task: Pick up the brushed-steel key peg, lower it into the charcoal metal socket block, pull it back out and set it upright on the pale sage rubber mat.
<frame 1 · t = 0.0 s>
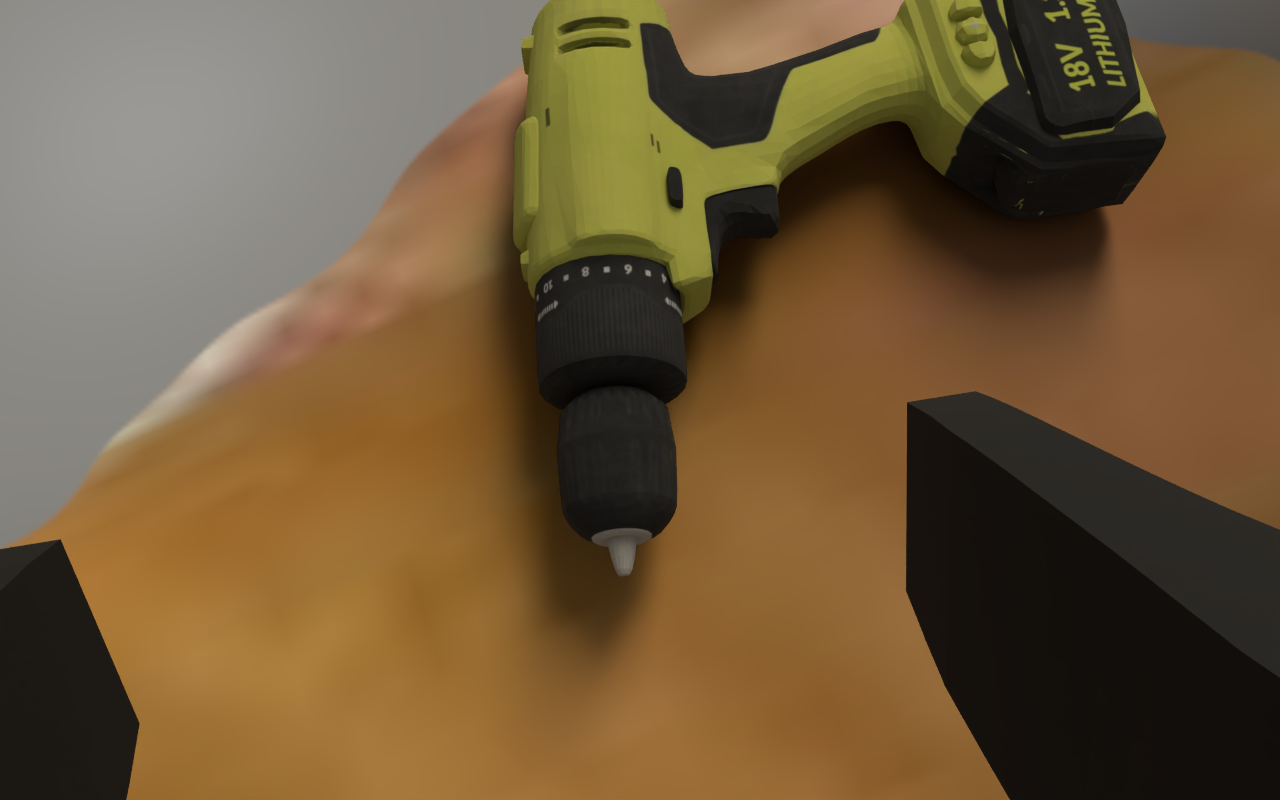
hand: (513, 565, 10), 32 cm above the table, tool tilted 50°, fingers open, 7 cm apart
cordless drill: (822, 288, 47), on the table
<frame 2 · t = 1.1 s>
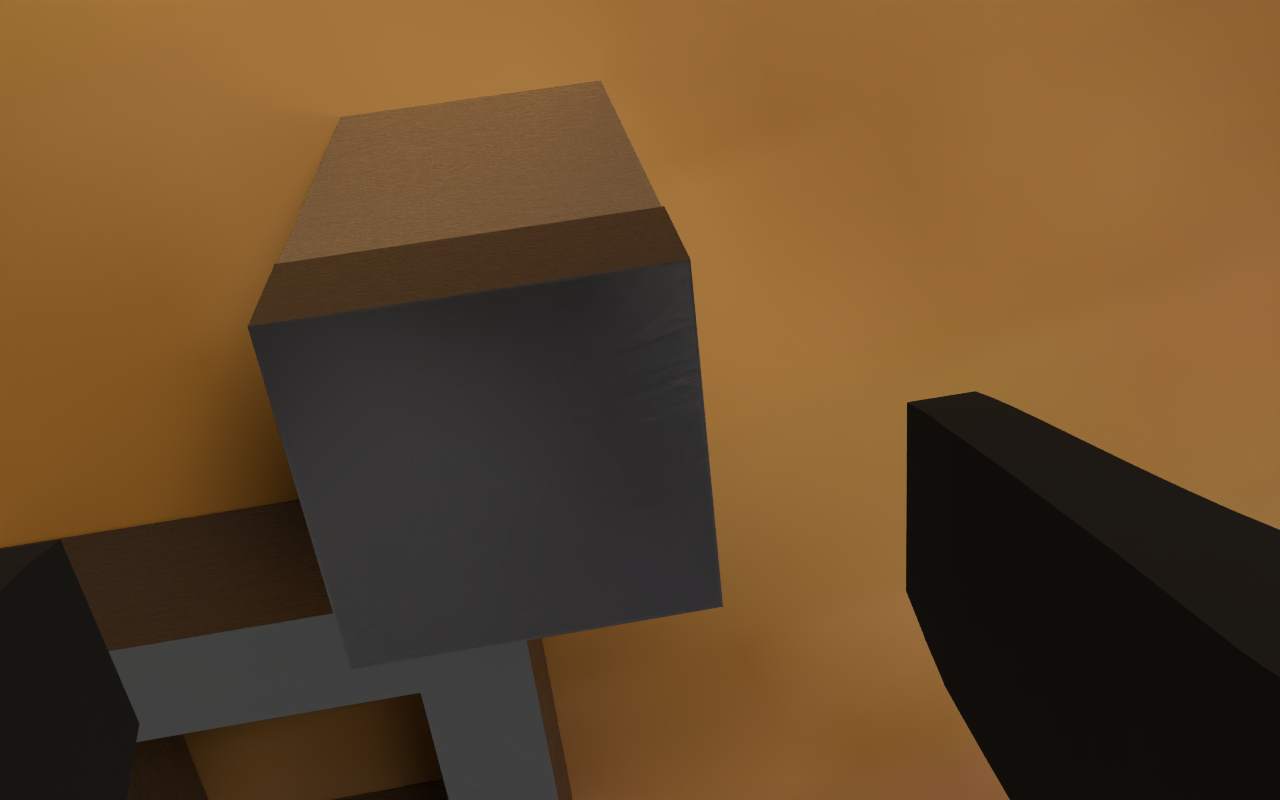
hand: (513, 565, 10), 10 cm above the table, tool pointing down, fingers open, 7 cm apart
key peg: (493, 223, 18), on the table
socket block: (317, 698, 22), on the table
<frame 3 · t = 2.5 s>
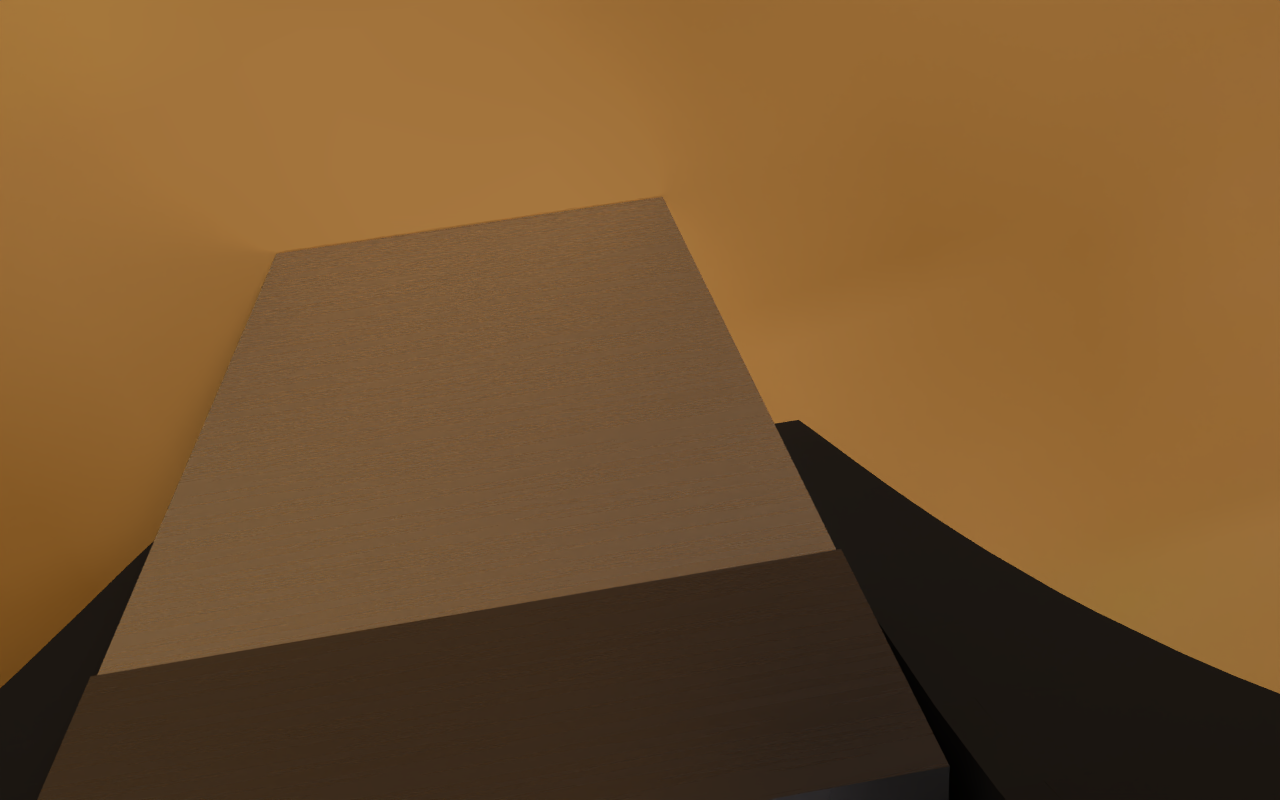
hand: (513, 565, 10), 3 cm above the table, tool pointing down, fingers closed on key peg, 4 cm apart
key peg: (503, 394, 13), on the table, touching gripper
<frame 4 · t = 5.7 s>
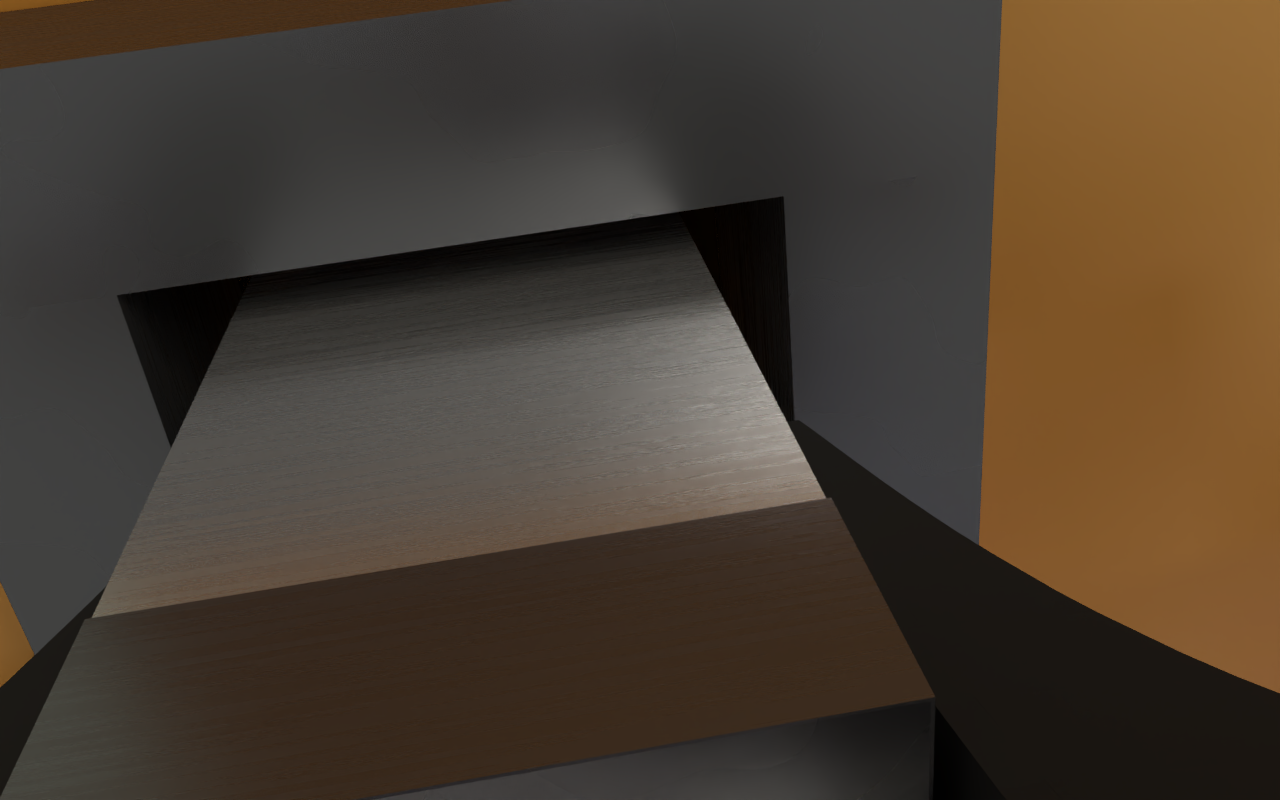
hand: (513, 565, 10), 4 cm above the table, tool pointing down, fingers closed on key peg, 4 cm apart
key peg: (499, 371, 13), point 1 cm above the table, touching gripper
socket block: (500, 357, 14), on the table
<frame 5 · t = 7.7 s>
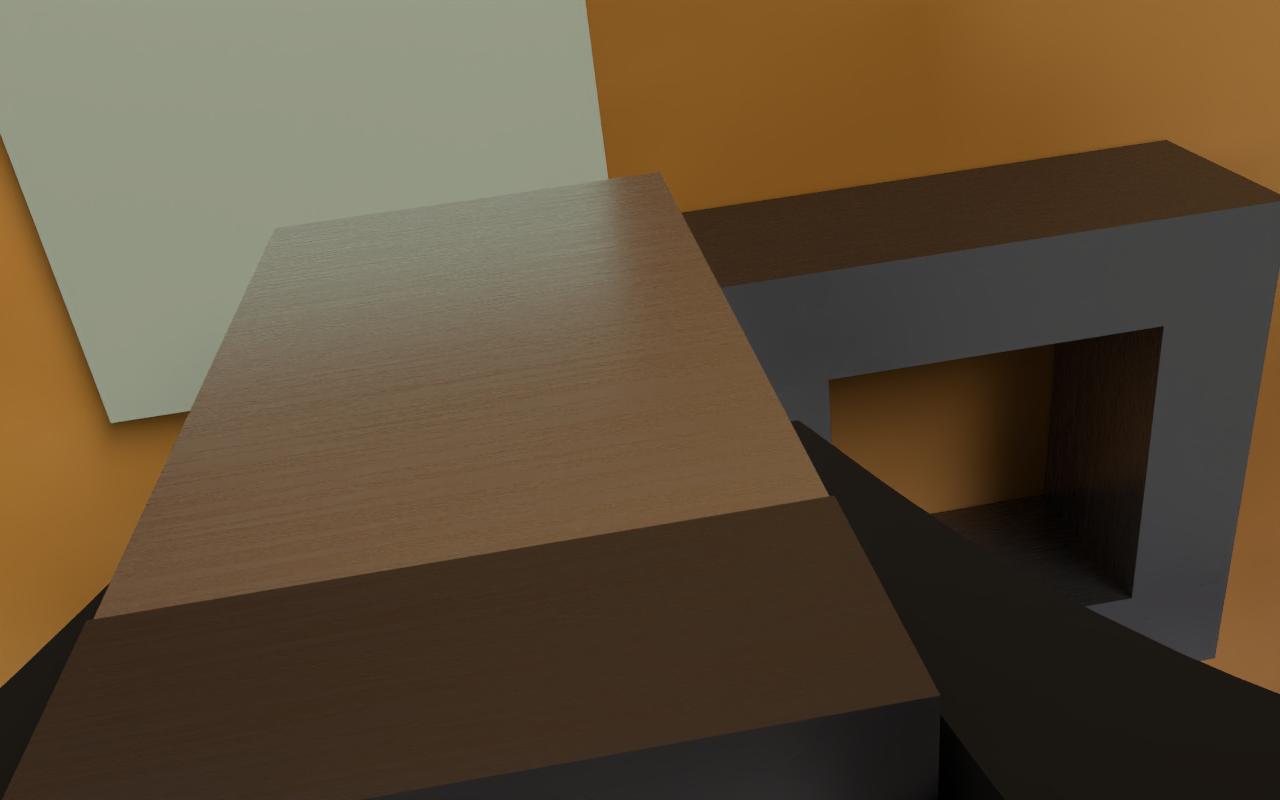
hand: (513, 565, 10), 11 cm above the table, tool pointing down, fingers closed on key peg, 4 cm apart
key peg: (501, 371, 13), point 7 cm above the table, touching gripper
mat: (314, 116, 18), on the table
socket block: (919, 401, 22), on the table
when the fingers open (5 cm above the table, at t = 9.5 s): key peg stays where it is, resting on mat.
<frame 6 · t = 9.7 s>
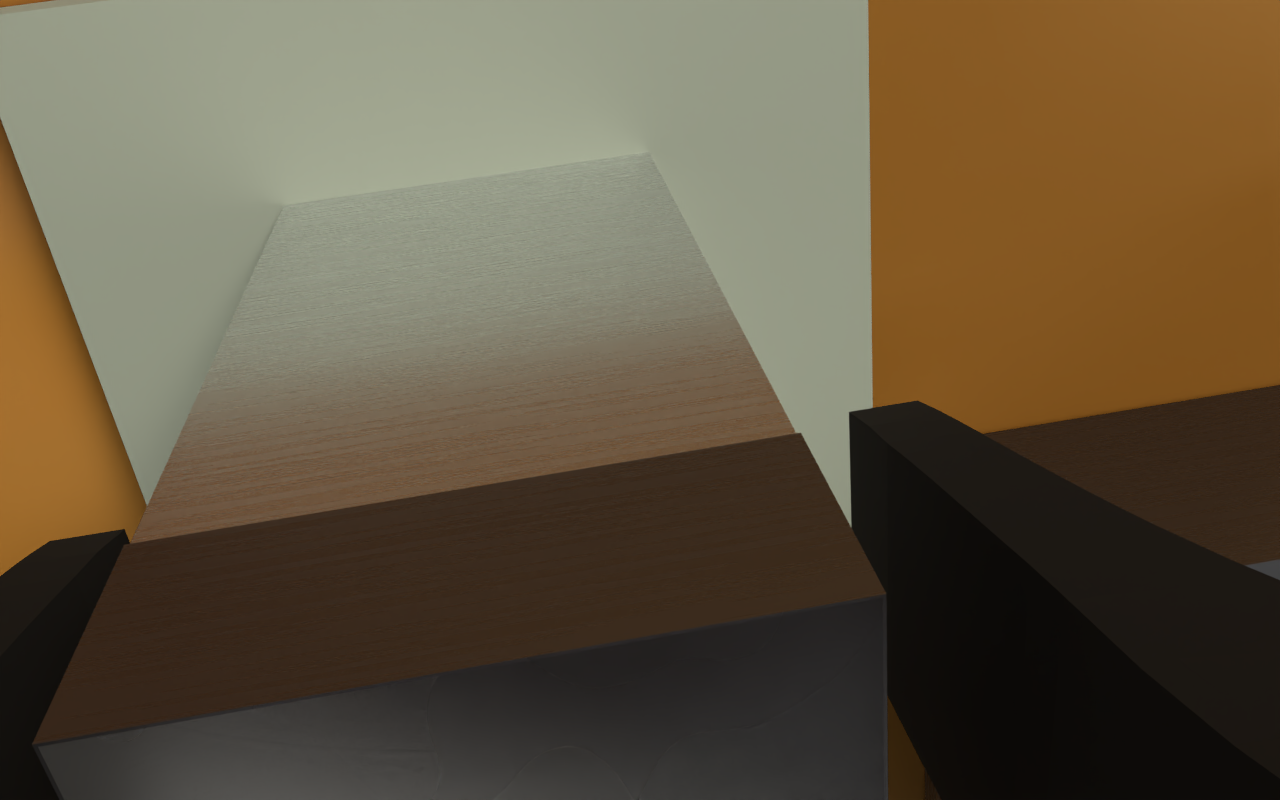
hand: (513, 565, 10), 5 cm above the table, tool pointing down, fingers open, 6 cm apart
key peg: (499, 343, 13), point 1 cm above the table, touching mat
mat: (500, 339, 14), on the table
socket block: (1202, 640, 18), on the table
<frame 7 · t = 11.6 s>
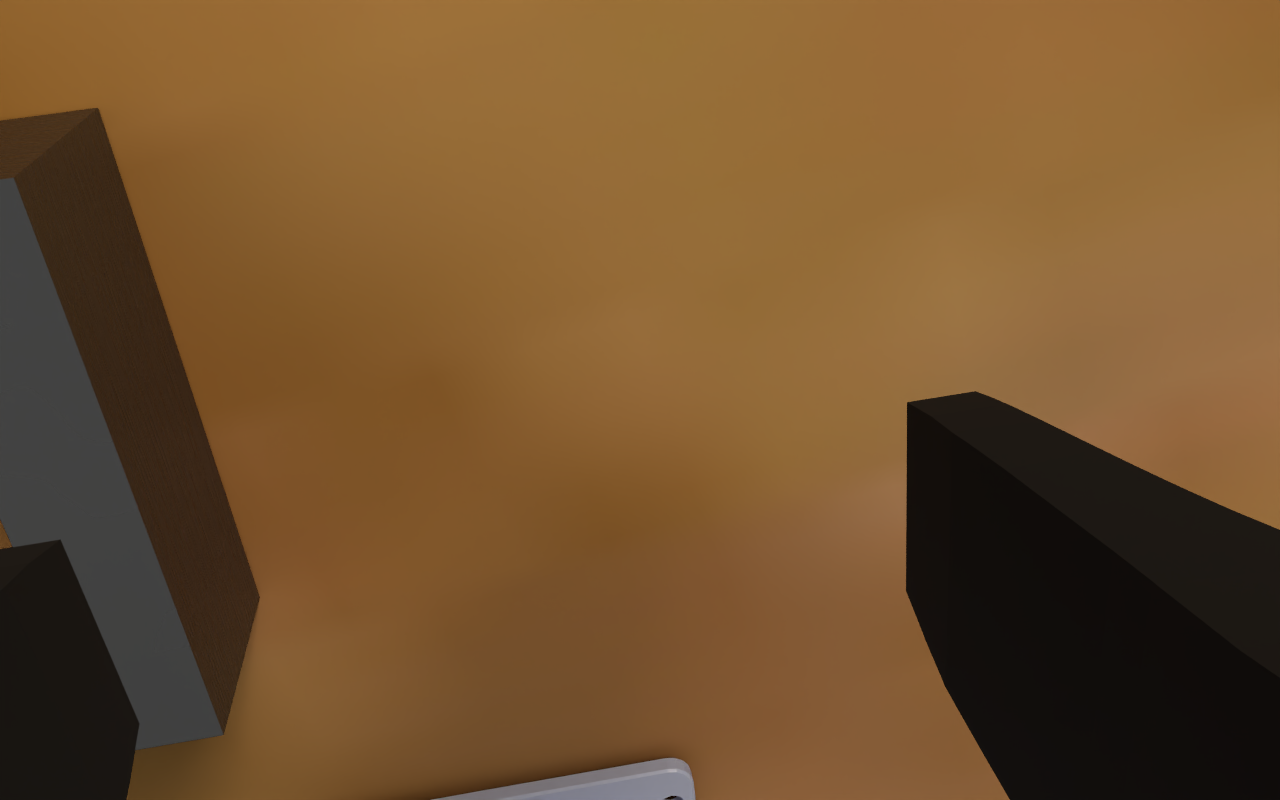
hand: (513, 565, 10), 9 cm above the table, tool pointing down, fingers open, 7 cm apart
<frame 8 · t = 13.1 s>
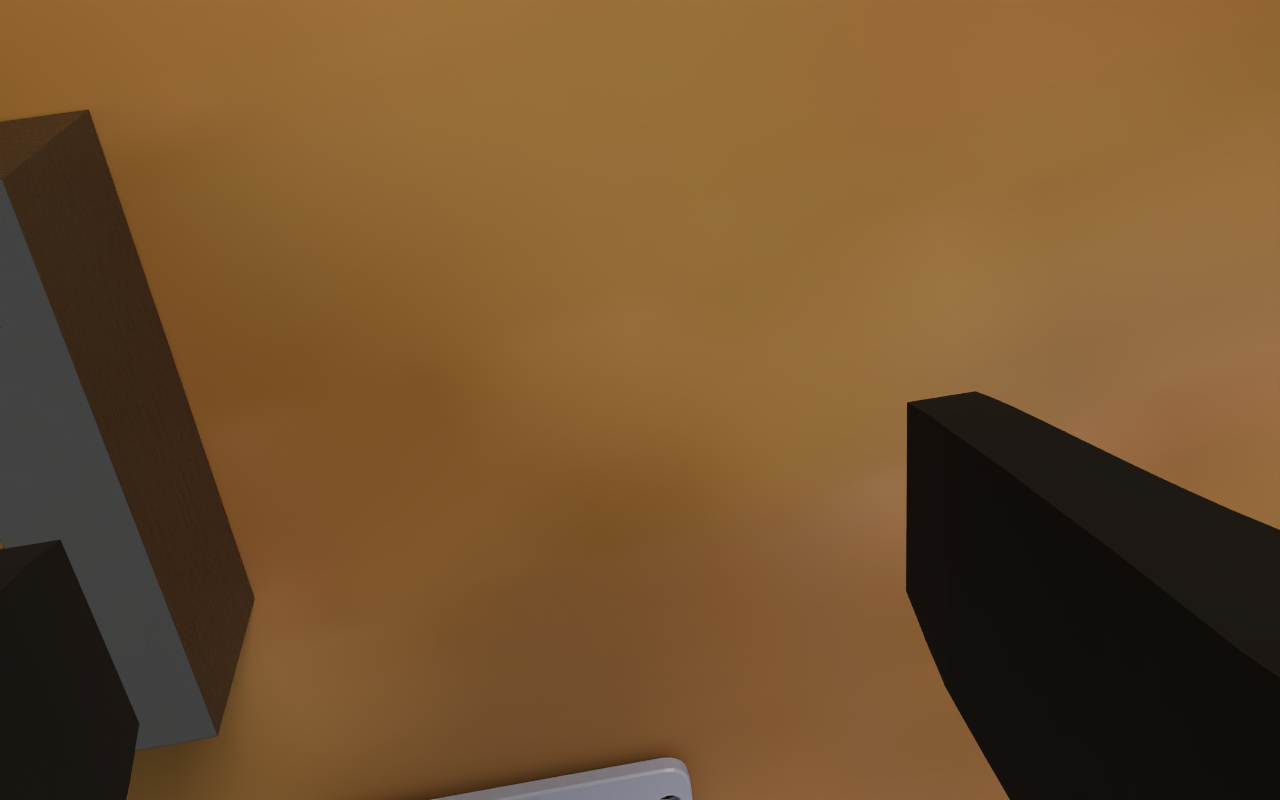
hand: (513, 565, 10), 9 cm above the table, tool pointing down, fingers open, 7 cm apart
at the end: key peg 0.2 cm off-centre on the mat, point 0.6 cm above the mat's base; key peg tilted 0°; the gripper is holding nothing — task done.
